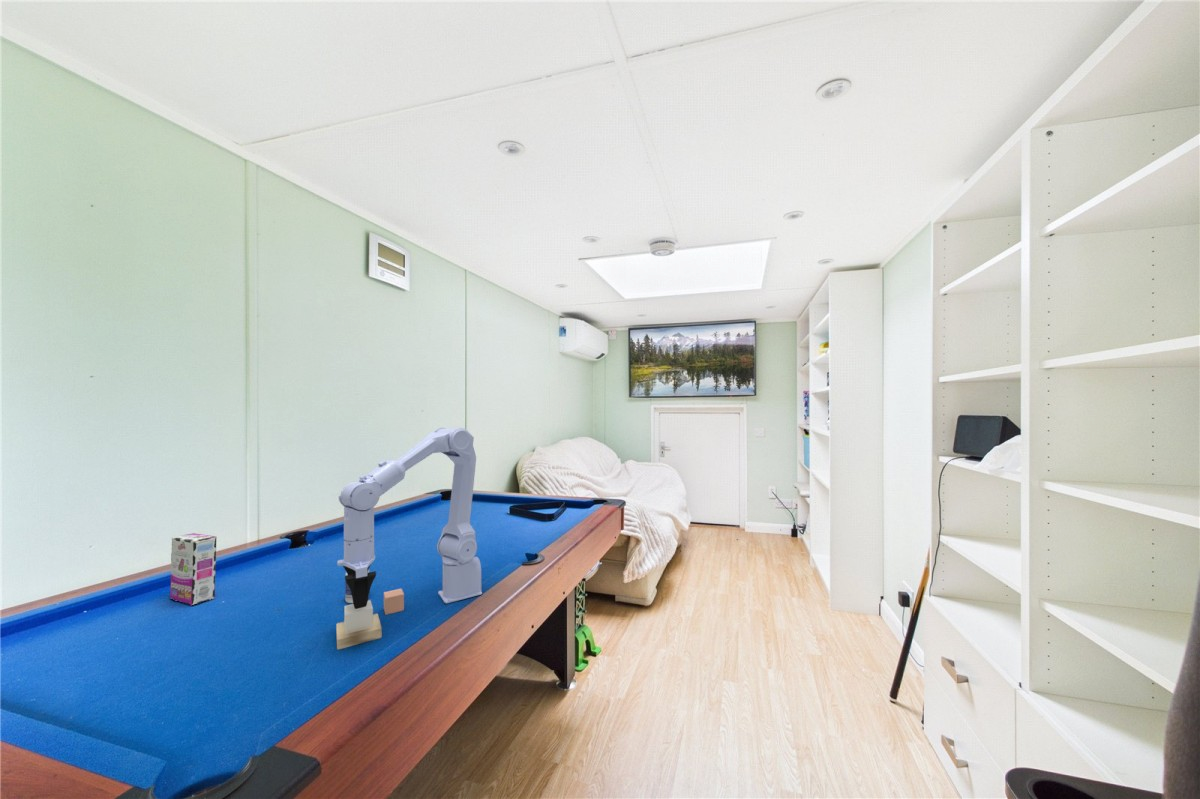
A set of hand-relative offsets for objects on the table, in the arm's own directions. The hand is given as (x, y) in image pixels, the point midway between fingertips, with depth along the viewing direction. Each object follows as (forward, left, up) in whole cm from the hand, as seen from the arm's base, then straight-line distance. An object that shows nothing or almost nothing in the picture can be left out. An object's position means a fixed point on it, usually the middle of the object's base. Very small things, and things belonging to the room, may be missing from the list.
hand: (359, 600), depth 90 cm
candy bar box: (+35, -47, -8) cm, 59 cm away
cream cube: (0, 0, -5) cm, 5 cm away
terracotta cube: (-8, -9, -8) cm, 14 cm away
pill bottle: (-1, -21, -8) cm, 22 cm away
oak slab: (0, 0, -7) cm, 7 cm away
